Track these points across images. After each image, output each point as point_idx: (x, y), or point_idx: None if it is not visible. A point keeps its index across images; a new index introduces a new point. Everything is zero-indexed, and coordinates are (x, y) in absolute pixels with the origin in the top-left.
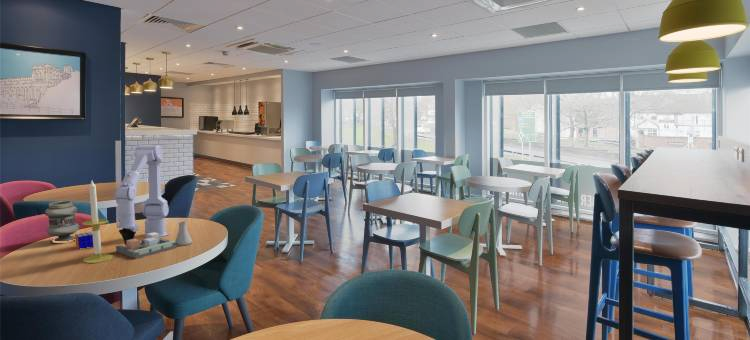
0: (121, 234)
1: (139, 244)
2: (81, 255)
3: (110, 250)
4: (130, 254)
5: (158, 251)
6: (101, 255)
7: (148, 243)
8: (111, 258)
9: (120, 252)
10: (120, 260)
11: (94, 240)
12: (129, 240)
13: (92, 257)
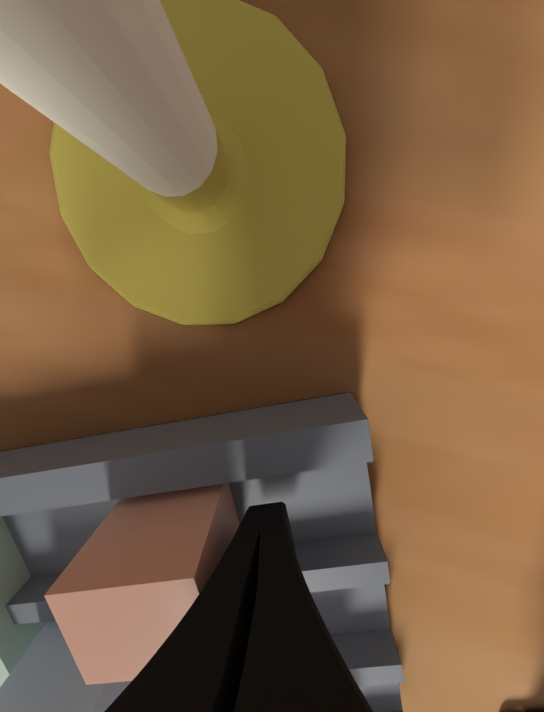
0: (308, 672)
1: (333, 599)
2: (514, 26)
3: (440, 357)
4: (47, 453)
5: None
6: (165, 201)
7: (22, 684)
8: (126, 296)
9: (258, 410)
10: (11, 347)
11: None
12: (153, 604)
13: (264, 120)
